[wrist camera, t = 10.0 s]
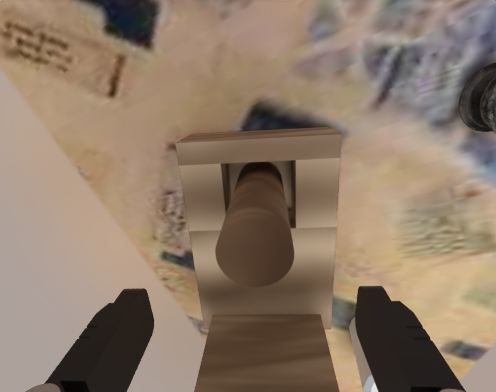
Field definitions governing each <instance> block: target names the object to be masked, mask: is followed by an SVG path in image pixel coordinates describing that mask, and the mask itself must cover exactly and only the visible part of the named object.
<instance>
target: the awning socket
mask: <svg viewBox="0 0 496 392" xmlns="http://www.w3.org/2000/svg"><path fill="white" fill-rule="evenodd" d="M341 139H342V134H340V133H339V132H337V131H335V130H333V129H332V128H330V127H313V128H296V129H278V130H260V131H243V132H225V133H208V134H191V135H189V136H187V137H186V138H184V139H182V140H180V141H179V142H177V143H175V144H176V150H177V157H178V163H179V169H180V176H181V182H182V188H183V195H184V201H185V208H186V214H187V220H188V227H189V233H190V239H191V246H192V252H193V259H194V265H195V271H196V278H197V284H198V291H199V297H200V303H201V310H202V316H203V322H204V329H209V332H208V336H207V341H206V345H205V349H204V353H203V357H202V361H201V366H200V370H199V374H198V378H197V382H196V387H195V391H194V392H339V388H338V384H337V380H336V376H335V372H334V368H333V363H332V359H331V355H330V351H329V347H328V343H327V339H326V335H325V331H324V329H331V317H332V299H333V281H334V263H335V246H336V228H337V210H338V192H339V174H340V156H341ZM267 161H269V162H271V163H273V164H274V165H275V166H276V167H277V168H278V169H279V171H280V173H281V176H282V181H283V187H284V193H285V199H286V205H287V211H288V217H289V223H290V229H291V235H292V241H293V247H294V261H293V264H292V267H291V269H290V270H289V272H288V273H287V274H286V275H285V276H284V277H283V278H282V279H281V280H279V281H278V282H276V283H274V284H271V285H268V286H263V287H249V286H244V285H241V284H238V283H236V282H234V281H233V280H231V279H230V278H228V277H227V276H226V275H225V274H224V273H223V272H222V270H221V269H220V267H219V265H218V263H217V260H216V255H215V249H216V244H217V241H218V238H219V235H220V232H221V229H222V226H223V222H224V219H225V216H226V213H227V210H228V207H229V204H230V201H231V198H232V195H233V192H234V189H235V186H236V183H237V180H238V177H239V174H240V172H241V170H242V168H243V167H244V166H245V165H246V164H248V163H249V162H267Z"/></svg>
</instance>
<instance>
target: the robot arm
mask: <svg viewBox="0 0 496 392" xmlns="http://www.w3.org/2000/svg"><path fill="white" fill-rule="evenodd" d="M355 327H356V332H357V336H358V339H359V341H360V344H361V347H362V350H363V352H364V355H365V358H366V360H367V363H368V366H369V368H370V371H371V374H372V376H373V379H374V382H375V384H376V387H377V390H378V392H466V391H465V389H464V388H463V387H462V385H461V384H460V382H459V381H458V379H457V378H456V376H455V375H454V373H453V372H452V370H451V369H450V367H449V366H448V364H447V363H446V361H445V359H444V358H443V356H442V355H441V353H440V352H439V350H438V349H437V347H436V346H435V344H434V343H433V341H431V340H430V337H429V335H428V334H427V332H426V331H425V329H423V327H422V325H421V323H420V322H419V320H418V319H417V317H416V316H415V314H414V313H413V312H412V311H411V310H410V309H409V308H407V307H406V306H405V305H404V304H403V303H401V302H400V301H391V300H390V298H389V296H388V295H387V293H386V291H385V290H384V288H383V287H382V286H360V287H359V288H358V295H357V304H356V313H355ZM153 329H154V318H153V313H152V310H151V305H150V301H149V297H148V293H147V291H146V289H124V290H123V291H122V292H121V293H120V295H119V296H118V298H117V299H116V300H115V302H114V303H109V304H108V305H106V306H105V307H104V308H103V309H101V310H100V311H99V312H98V313H97V314H96V315H95V316H94V317H93V319H92V320H91V321H90V323H89V324H88V325H87V328H86V329H85V330H84V331H83V332H82V334H81V335H80V336H79V339H77V340H76V342H75V343H74V345H73V346H72V347H71V349H70V350H69V351H68V353H67V354H66V355H65V357H64V358H63V359H62V361H61V362H60V364H59V365H58V366H57V367H56V369H55V370H54V372H53V373H52V374H51V376H50V377H49V378H48V380H47V381H46V382H45V383H44V384H41V385H38V386H35V387H33V388H31V389H29V390H27V391H26V392H127V389H128V387H129V385H130V383H131V381H132V379H133V376H134V374H135V371H136V370H137V367H138V365H139V363H140V361H141V358H142V356H143V354H144V352H145V350H146V347H147V345H148V343H149V341H150V338H151V336H152V333H153Z"/></svg>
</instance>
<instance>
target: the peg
mask: <svg viewBox="0 0 496 392" xmlns="http://www.w3.org/2000/svg"><path fill="white" fill-rule="evenodd" d="M215 255H216V260H217V263H218V265H219V267H220V269H221V270H222V272H223V273H224V274H225V275H226V276H227V277H228V278H230V279H231V280H233V281H234V282H236V283H238V284H241V285H244V286H249V287H263V286H268V285H271V284H274V283H276V282H278V281H279V280H281V279H282V278H283V277H284V276H285V275H286V274H287V273H288V272H289V270H290V269H291V267H292V264H293V261H294V247H293V241H292V235H291V229H290V223H289V217H288V211H287V205H286V199H285V193H284V187H283V181H282V176H281V173H280V171H279V169H278V168H277V167H276V166H275V165H274V164H273V163H271V162H269V161H267V162H249V163H248V164H246V165H245V166H244V167H243V168H242V170H241V172H240V174H239V177H238V180H237V183H236V186H235V189H234V192H233V195H232V198H231V201H230V204H229V207H228V210H227V213H226V216H225V219H224V222H223V226H222V229H221V232H220V235H219V238H218V241H217V244H216V249H215Z"/></svg>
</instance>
